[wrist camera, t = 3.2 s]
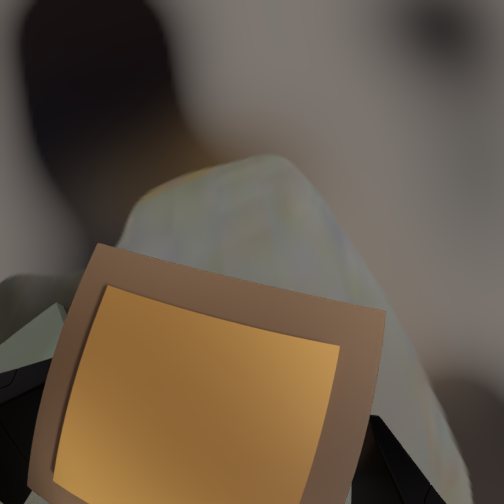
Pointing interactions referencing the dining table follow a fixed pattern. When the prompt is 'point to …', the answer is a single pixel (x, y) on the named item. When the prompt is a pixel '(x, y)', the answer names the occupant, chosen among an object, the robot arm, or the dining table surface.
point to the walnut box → (202, 390)
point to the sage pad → (33, 340)
